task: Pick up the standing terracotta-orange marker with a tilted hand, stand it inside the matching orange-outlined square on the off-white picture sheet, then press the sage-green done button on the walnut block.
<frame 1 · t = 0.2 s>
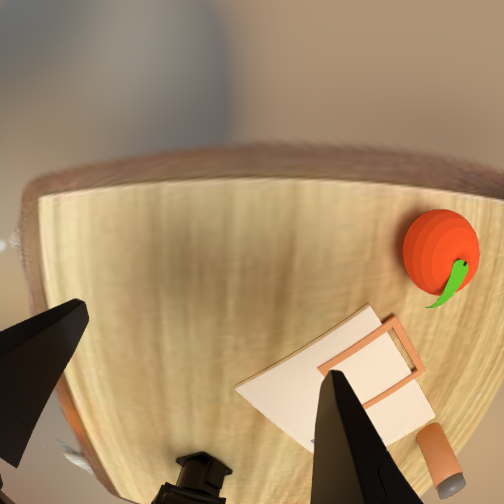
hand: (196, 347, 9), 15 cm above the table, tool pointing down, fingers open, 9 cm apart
clementine: (420, 248, 22), on the table
marker: (428, 432, 27), on the table
picture sheet: (351, 408, 27), on the table
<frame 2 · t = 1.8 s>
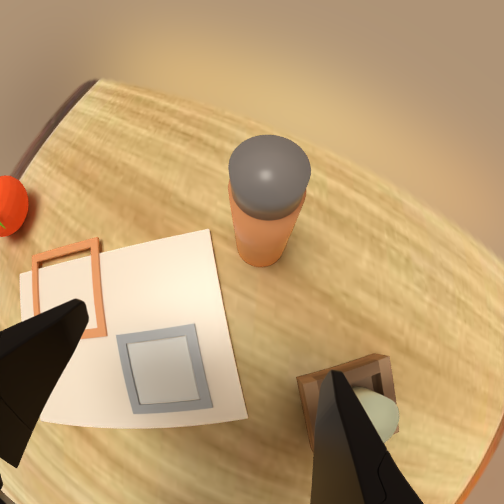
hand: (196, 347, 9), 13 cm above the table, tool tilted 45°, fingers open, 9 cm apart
clementine: (22, 220, 25), on the table
button base: (343, 402, 20), on the table
done button: (362, 416, 16), point 4 cm above the table, slide at 0.0 cm
marker: (260, 243, 24), on the table
picture sheet: (107, 342, 21), on the table
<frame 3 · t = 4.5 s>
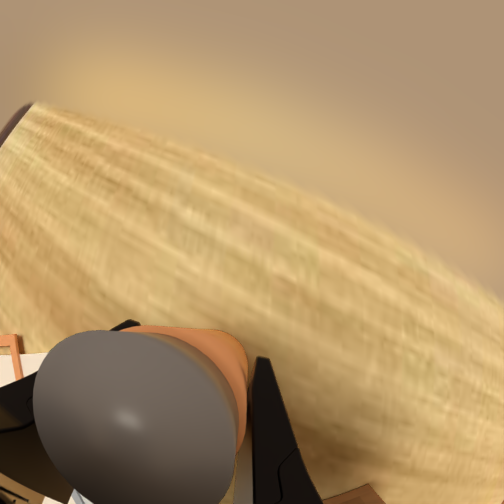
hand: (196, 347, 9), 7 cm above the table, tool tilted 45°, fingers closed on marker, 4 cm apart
marker: (212, 364, 15), on the table, touching gripper
picture sheet: (47, 452, 12), on the table
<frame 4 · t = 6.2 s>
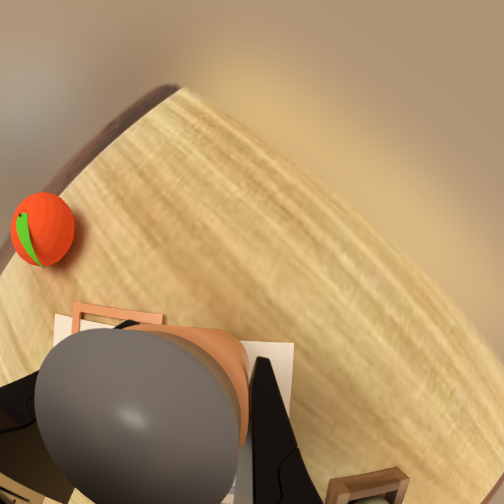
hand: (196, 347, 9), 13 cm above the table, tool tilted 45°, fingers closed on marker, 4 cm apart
clementine: (63, 245, 24), on the table
button base: (358, 499, 17), on the table
marker: (213, 363, 15), point 7 cm above the table, touching gripper
picture sheet: (156, 420, 19), on the table
when the fingers open (8 cm above the table, at t = 8.1 s): marker stays where it is, resting on picture sheet.
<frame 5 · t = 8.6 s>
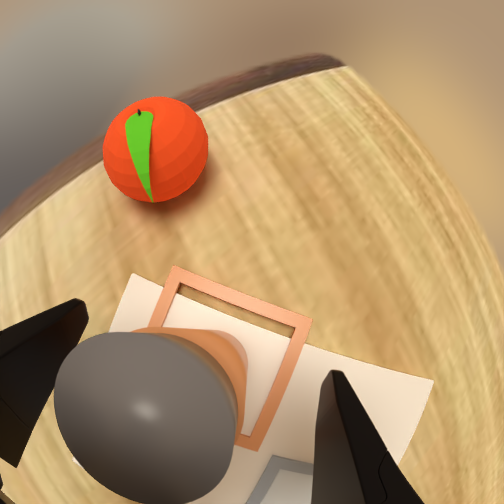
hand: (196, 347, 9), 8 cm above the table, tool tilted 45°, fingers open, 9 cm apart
clementine: (169, 183, 20), on the table
marker: (213, 362, 15), point 1 cm above the table, touching picture sheet
picture sheet: (246, 450, 14), on the table
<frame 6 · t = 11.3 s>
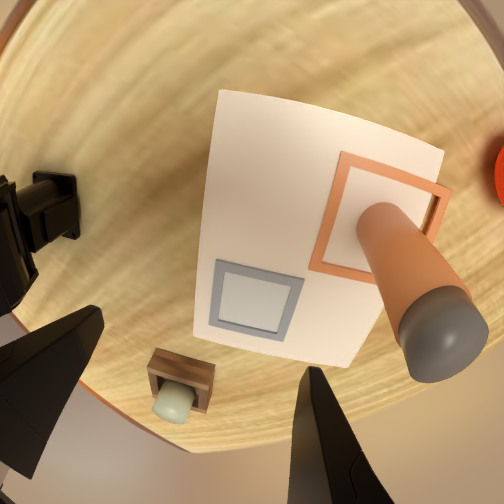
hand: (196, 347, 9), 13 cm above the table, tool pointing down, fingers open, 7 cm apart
clementine: (501, 170, 15), on the table
button base: (185, 373, 31), on the table
done button: (174, 401, 27), point 4 cm above the table, slide at 0.0 cm
marker: (382, 228, 19), point 1 cm above the table, touching picture sheet
picture sheet: (303, 256, 21), on the table
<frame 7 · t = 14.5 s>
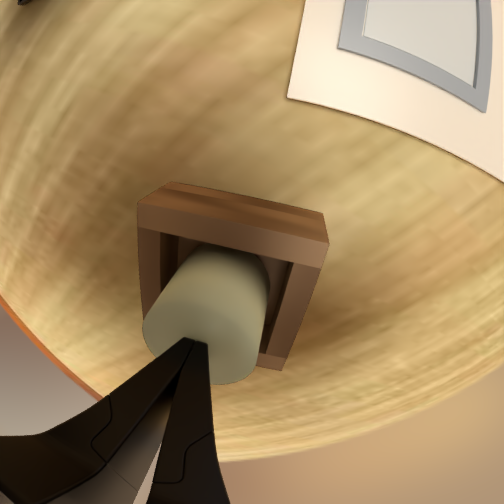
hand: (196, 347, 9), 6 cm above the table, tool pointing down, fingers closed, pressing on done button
button base: (232, 263, 14), on the table
done button: (212, 311, 10), point 4 cm above the table, slide at 0.6 cm, touching gripper
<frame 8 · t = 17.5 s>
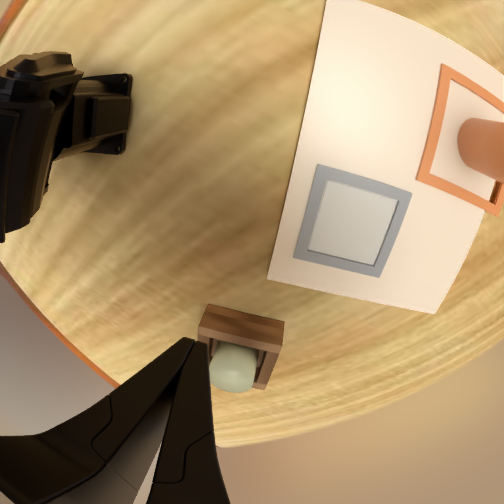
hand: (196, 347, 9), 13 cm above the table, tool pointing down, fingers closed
button base: (240, 339, 26), on the table
done button: (234, 362, 24), point 3 cm above the table, slide at 1.2 cm
marker: (477, 144, 14), point 1 cm above the table, touching picture sheet
picture sheet: (408, 168, 17), on the table
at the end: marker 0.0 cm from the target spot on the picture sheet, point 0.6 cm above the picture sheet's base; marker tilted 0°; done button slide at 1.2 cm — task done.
